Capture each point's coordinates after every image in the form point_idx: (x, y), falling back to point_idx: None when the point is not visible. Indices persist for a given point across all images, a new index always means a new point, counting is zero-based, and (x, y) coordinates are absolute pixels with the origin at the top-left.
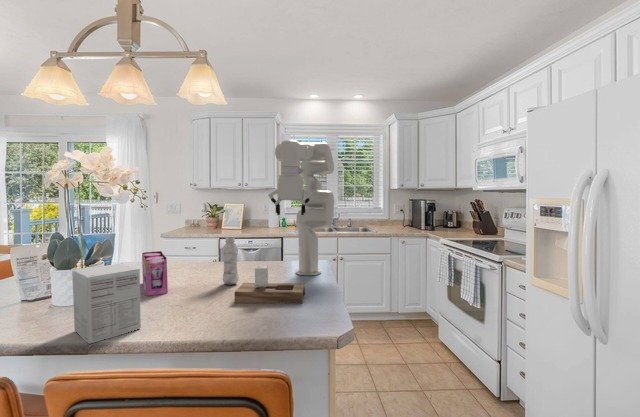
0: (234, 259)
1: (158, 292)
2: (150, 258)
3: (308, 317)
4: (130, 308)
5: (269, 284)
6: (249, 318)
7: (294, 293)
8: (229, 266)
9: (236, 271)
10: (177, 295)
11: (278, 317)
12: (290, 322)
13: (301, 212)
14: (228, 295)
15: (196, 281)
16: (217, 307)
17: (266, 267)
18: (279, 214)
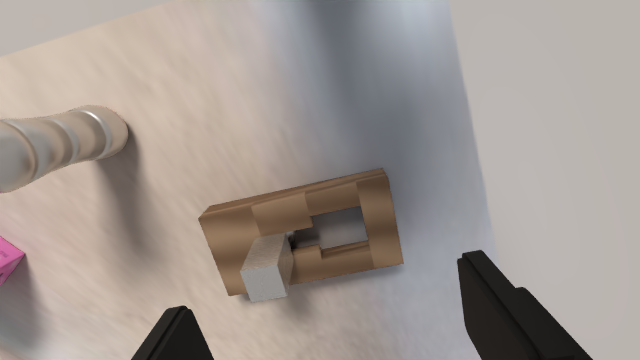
0: (60, 158)
1: (10, 270)
2: None
3: (431, 317)
4: None
5: (283, 214)
6: (318, 343)
7: (382, 265)
8: (70, 164)
9: (100, 137)
10: (64, 261)
11: (371, 328)
12: (402, 344)
13: (480, 352)
14: (184, 232)
15: None
16: (219, 308)
17: (283, 285)
18: (204, 342)
